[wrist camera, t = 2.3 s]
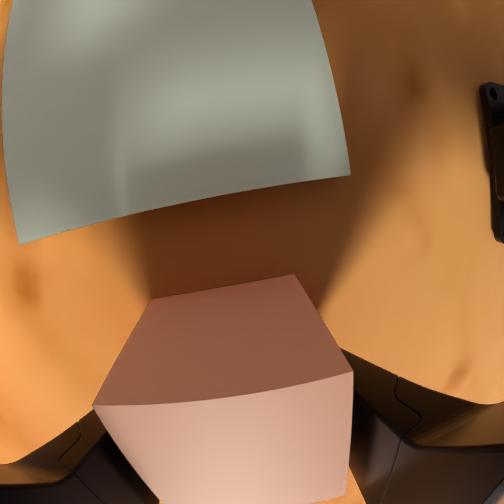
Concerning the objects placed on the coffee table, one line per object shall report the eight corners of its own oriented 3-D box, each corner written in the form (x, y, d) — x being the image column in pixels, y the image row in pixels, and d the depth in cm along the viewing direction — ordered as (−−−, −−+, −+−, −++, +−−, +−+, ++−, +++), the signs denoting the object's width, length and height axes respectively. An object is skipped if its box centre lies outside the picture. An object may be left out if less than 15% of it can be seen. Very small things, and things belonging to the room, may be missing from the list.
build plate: (275, -68, 6) (278, -84, 5) (338, 174, 8) (351, 174, 8) (26, 1, 6) (14, -8, 5) (35, 238, 8) (19, 245, 7)
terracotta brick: (293, 273, 9) (353, 371, 4) (307, 386, 10) (345, 494, 5) (151, 298, 9) (91, 405, 4) (188, 405, 10) (174, 515, 5)
